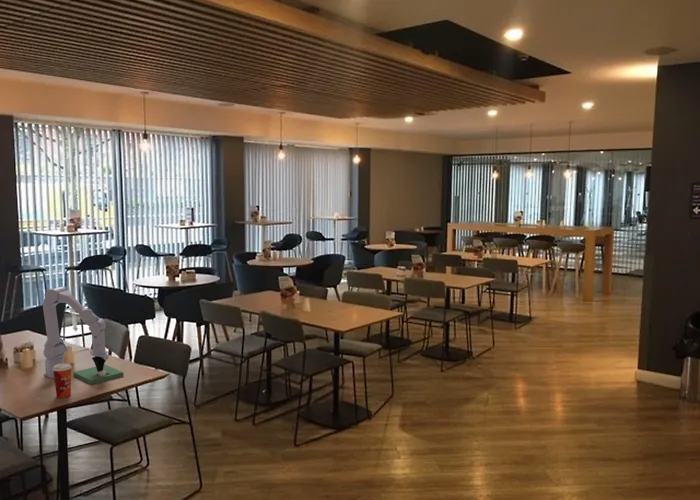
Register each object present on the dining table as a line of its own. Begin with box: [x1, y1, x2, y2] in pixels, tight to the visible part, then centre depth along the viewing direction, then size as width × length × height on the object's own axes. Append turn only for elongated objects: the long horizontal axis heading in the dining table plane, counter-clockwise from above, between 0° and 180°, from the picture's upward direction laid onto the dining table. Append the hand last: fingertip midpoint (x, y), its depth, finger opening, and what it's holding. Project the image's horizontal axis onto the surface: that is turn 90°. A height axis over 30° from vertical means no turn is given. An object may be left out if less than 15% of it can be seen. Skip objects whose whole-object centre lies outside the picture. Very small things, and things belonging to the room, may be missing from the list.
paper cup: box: [52, 362, 73, 399], centre depth 258 cm, size 8×8×14 cm
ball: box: [99, 371, 106, 377], centre depth 283 cm, size 4×4×4 cm
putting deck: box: [72, 364, 124, 385], centre depth 286 cm, size 19×16×2 cm
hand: (100, 371), depth 284 cm, fingers closed
